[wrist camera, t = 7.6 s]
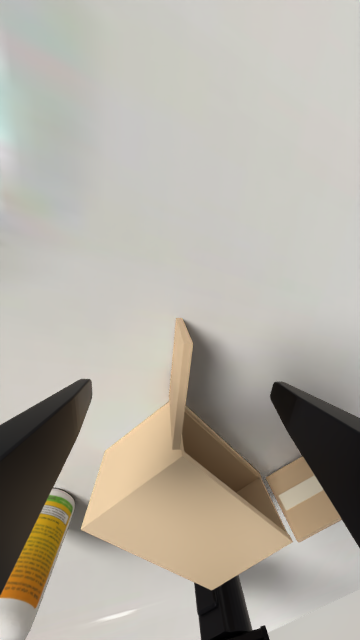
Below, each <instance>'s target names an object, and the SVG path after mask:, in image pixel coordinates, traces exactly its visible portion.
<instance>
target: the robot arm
mask: <svg viewBox="0 0 360 640" xmlns="http://www.w3.org/2000/svg"><path fill="white" fill-rule="evenodd" d="M270 398H271V401H272V403H273V405H274V407H275V409H276V411H277V413H278V414H279V416H280V418H281V420H282V422H283V424H284V426H285V428H286V430H287V432H288V433H289V435H290V437H291V438H292V440H293V441H294V443H295V445H296V446H297V448H298V449H299V451H300V453H301V454H302V456H303V457H304V459H305V461H306V462H307V464H308V466H309V467H310V469H311V470H312V472H313V474H314V475H315V477H316V478H317V480H318V482H319V483H320V485H321V487H322V488H323V490H324V491H325V493H326V495H327V496H328V498H329V499H330V501H331V503H332V504H333V506H334V508H335V509H336V511H337V512H338V514H339V516H340V517H341V519H342V520H343V522H344V524H345V525H346V527H347V528H348V530H349V532H350V533H351V535H352V537H353V538H354V540H355V541H356V543H357V545H358V546H359V548H360V418H358V417H356V416H354V415H352V414H350V413H348V412H346V411H344V410H342V409H339V408H337V407H335V406H333V405H331V404H329V403H327V402H325V401H323V400H320V399H318V398H316V397H314V396H312V395H310V394H308V393H306V392H304V391H301V390H299V389H297V388H295V387H293V386H291V385H289V384H287V383H285V382H274V384H273V387H272V390H271V394H270ZM91 399H92V382H91V380H90V379H80V380H78V381H76V382H75V383H73V384H71V385H69V386H68V387H66V388H64V389H62V390H61V391H59V392H57V393H55V394H54V395H52V396H50V397H48V398H47V399H45V400H43V401H41V402H40V403H38V404H36V405H34V406H33V407H31V408H29V409H27V410H26V411H24V412H22V413H20V414H19V415H17V416H15V417H13V418H12V419H10V420H8V421H7V422H5V423H3V424H1V425H0V595H1V593H2V591H3V589H4V587H5V585H6V583H7V581H8V579H9V577H10V575H11V573H12V571H13V569H14V567H15V565H16V563H17V560H18V558H19V556H20V554H21V552H22V550H23V548H24V546H25V544H26V542H27V540H28V538H29V536H30V534H31V532H32V530H33V528H34V525H35V523H36V521H37V519H38V517H39V515H40V513H41V511H42V509H43V507H44V505H45V503H46V501H47V499H48V497H49V495H50V493H51V490H52V488H53V486H54V484H55V482H56V480H57V478H58V476H59V474H60V472H61V470H62V468H63V466H64V464H65V462H66V460H67V458H68V455H69V453H70V451H71V449H72V447H73V445H74V443H75V441H76V439H77V437H78V434H79V432H80V429H81V427H82V424H83V421H84V419H85V416H86V413H87V410H88V408H89V405H90V402H91ZM194 585H195V595H196V605H197V613H198V615H199V624H200V634H201V640H269V636H268V633H267V630H266V627H265V625H264V626H261V627H260V629H256V630H252V626H251V622H250V618H249V615H248V611H247V607H246V603H245V599H244V595H243V591H242V587H241V583H240V579H239V575H237V576H235V577H233V578H232V579H230V580H228V581H227V582H225V583H223V584H222V585H220V586H218V587H217V588H215V589H213V590H210V589H208V588H205V587H203V586H201V585H199V584H197V583H195V582H194Z"/></svg>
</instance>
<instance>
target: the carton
mask: <svg viewBox="0 0 360 640" xmlns="http://www.w3.org/2000/svg"><path fill="white" fill-rule="evenodd" d="M81 530H82V531H85V532H87V533H89V534H91V535H93V536H95V537H98V538H100V539H102V540H104V541H106V542H108V543H110V544H113V545H115V546H117V547H119V548H121V549H123V550H126V551H128V552H130V553H132V554H134V555H136V556H139V557H141V558H143V559H145V560H147V561H149V562H151V563H154V564H156V565H158V566H160V567H162V568H164V569H167V570H169V571H171V572H173V573H175V574H177V575H180V576H182V577H184V578H186V579H188V580H190V581H192V582H195V583H197V584H199V585H201V586H203V587H205V588H208V589H210V590H213V589H215V588H217V587H218V586H220V585H222V584H223V583H225V582H227V581H228V580H230V579H232V578H233V577H235V576H237V575H238V574H240V573H242V572H243V571H245V570H247V569H248V568H250V567H252V566H253V565H255V564H257V563H258V562H260V561H262V560H263V559H265V558H267V557H268V556H270V555H272V554H273V553H275V552H277V551H278V550H280V549H282V548H283V547H285V546H287V545H288V544H290V543H292V542H293V541H292V539H291V537H290V535H289V534H288V533H287V531H286V529H285V527H284V525H283V523H282V521H281V519H280V517H279V514H278V512H277V510H276V508H275V506H274V504H273V502H272V500H271V498H270V496H269V494H268V491H267V489H266V487H265V485H264V483H263V481H262V479H261V475H260V473H259V472H258V471H257V470H256V469H254V468H253V467H252V466H251V465H250V464H249V463H248V462H247V461H246V460H245V459H244V458H242V457H241V456H240V455H239V454H238V453H237V452H236V451H235V450H234V449H233V448H232V447H231V446H229V445H228V444H227V443H226V442H225V441H224V440H223V439H222V438H221V437H220V436H219V435H217V434H216V433H215V432H214V431H213V430H212V429H211V428H210V427H209V426H208V425H207V424H205V423H204V422H203V421H202V420H201V419H200V418H199V417H198V416H197V415H196V414H195V413H193V412H192V411H191V410H190V409H189V408H188V407H187V406H186V405H185V412H184V420H183V428H182V436H181V444H180V450H172V439H171V422H170V404H169V402H168V403H166V404H165V405H164V406H163V407H161V408H160V409H159V410H157V411H156V412H155V413H154V414H152V415H151V416H150V417H148V418H147V419H146V420H145V421H143V422H142V423H141V424H139V425H138V426H137V427H136V428H134V429H133V430H132V431H130V432H129V433H128V434H126V435H125V436H124V437H123V438H121V439H120V440H119V441H117V442H116V443H115V444H114V445H112V446H111V447H110V448H108V449H107V450H106V451H105V453H104V456H103V460H102V463H101V466H100V469H99V472H98V476H97V479H96V482H95V485H94V488H93V491H92V495H91V498H90V501H89V504H88V507H87V511H86V514H85V517H84V520H83V523H82V527H81Z"/></svg>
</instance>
